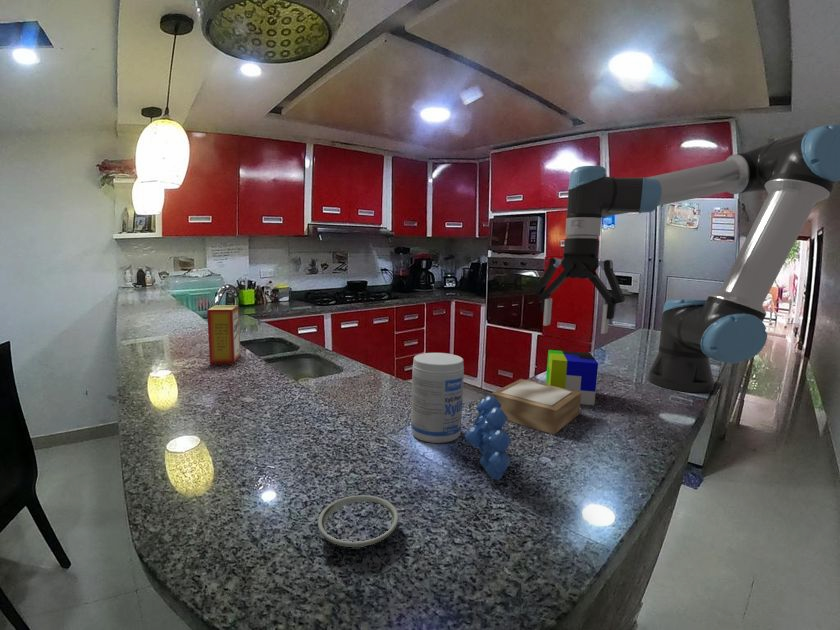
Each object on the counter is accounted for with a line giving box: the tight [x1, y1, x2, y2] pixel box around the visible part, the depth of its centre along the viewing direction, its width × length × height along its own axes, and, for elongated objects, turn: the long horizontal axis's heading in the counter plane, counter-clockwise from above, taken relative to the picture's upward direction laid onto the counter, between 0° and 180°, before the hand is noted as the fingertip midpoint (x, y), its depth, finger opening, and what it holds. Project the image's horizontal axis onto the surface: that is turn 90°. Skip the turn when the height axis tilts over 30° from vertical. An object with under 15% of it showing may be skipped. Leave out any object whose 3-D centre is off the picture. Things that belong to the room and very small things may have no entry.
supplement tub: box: [410, 352, 465, 444], centre depth 80 cm, size 10×10×15 cm
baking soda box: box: [206, 304, 241, 365], centre depth 127 cm, size 10×6×16 cm
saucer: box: [317, 494, 399, 547], centre depth 52 cm, size 10×10×2 cm
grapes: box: [464, 394, 512, 481], centre depth 67 cm, size 12×7×12 cm, turn 8°
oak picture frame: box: [490, 378, 581, 435], centre depth 91 cm, size 14×14×5 cm
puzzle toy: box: [545, 349, 599, 406], centre depth 103 cm, size 10×10×10 cm
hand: (574, 328), depth 101 cm, fingers open, 13 cm apart
